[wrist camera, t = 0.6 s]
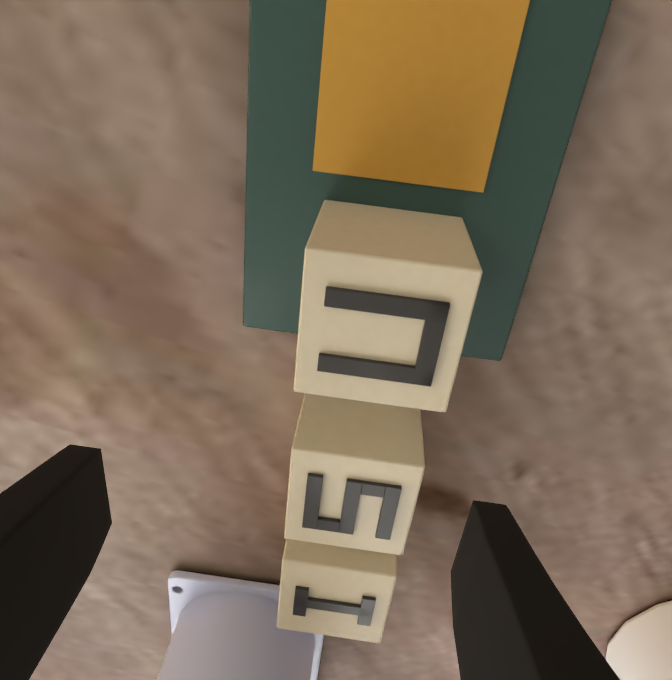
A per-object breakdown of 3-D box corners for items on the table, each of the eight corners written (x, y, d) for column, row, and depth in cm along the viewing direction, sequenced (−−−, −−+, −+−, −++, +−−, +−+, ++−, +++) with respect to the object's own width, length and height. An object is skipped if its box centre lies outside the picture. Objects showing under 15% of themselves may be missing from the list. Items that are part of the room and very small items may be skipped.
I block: (382, 555, 25) (380, 648, 21) (292, 542, 25) (275, 632, 21) (396, 490, 23) (397, 580, 19) (298, 476, 23) (281, 563, 19)
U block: (435, 337, 18) (446, 417, 15) (312, 321, 18) (291, 395, 15) (462, 216, 16) (485, 273, 12) (323, 198, 16) (304, 249, 13)
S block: (401, 471, 22) (402, 560, 19) (300, 457, 23) (282, 542, 19) (419, 389, 20) (426, 470, 17) (308, 373, 20) (290, 451, 17)
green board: (497, 350, 19) (502, 364, 18) (247, 316, 19) (241, 328, 19) (608, -19, 14) (621, -22, 13) (257, -61, 14) (249, -67, 13)
